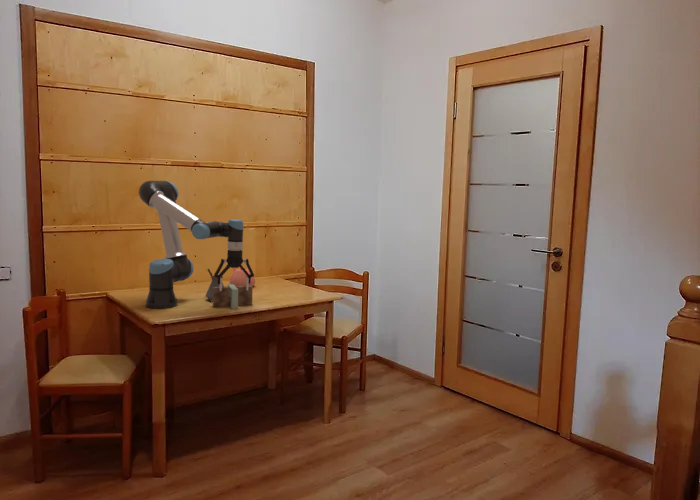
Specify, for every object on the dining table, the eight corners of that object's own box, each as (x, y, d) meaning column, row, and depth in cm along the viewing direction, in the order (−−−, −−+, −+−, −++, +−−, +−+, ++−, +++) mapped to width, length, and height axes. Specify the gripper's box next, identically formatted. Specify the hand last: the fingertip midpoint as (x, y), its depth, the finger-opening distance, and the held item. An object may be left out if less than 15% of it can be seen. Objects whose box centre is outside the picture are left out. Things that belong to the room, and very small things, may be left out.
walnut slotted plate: (213, 307, 273) (213, 288, 272) (212, 305, 276) (213, 287, 275) (252, 305, 281) (252, 286, 279) (250, 303, 283) (251, 285, 282)
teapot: (221, 284, 332) (222, 264, 330) (243, 282, 342) (244, 263, 340) (238, 290, 315) (239, 270, 314) (261, 288, 325) (262, 268, 324)
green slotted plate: (232, 308, 271) (232, 289, 270) (227, 302, 284) (227, 284, 283) (237, 308, 272) (238, 289, 271) (233, 302, 285) (233, 284, 284)
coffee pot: (230, 301, 288) (230, 274, 286) (209, 302, 282) (209, 275, 280) (217, 293, 306) (217, 267, 304) (197, 294, 300) (197, 268, 298)
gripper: (211, 250, 262) (210, 292, 265) (260, 250, 271) (259, 291, 274) (209, 248, 269) (208, 289, 272) (257, 248, 278) (256, 288, 281)
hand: (233, 290), depth 273 cm, fingers open, 13 cm apart
